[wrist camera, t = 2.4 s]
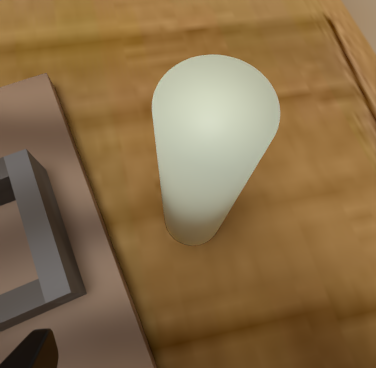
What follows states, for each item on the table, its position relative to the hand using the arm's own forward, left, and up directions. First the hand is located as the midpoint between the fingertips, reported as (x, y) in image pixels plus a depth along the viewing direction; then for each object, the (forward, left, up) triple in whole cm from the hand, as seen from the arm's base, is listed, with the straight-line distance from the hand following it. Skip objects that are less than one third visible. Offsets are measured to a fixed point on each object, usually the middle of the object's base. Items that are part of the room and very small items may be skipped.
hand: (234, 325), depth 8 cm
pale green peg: (+4, +4, -12) cm, 13 cm away
